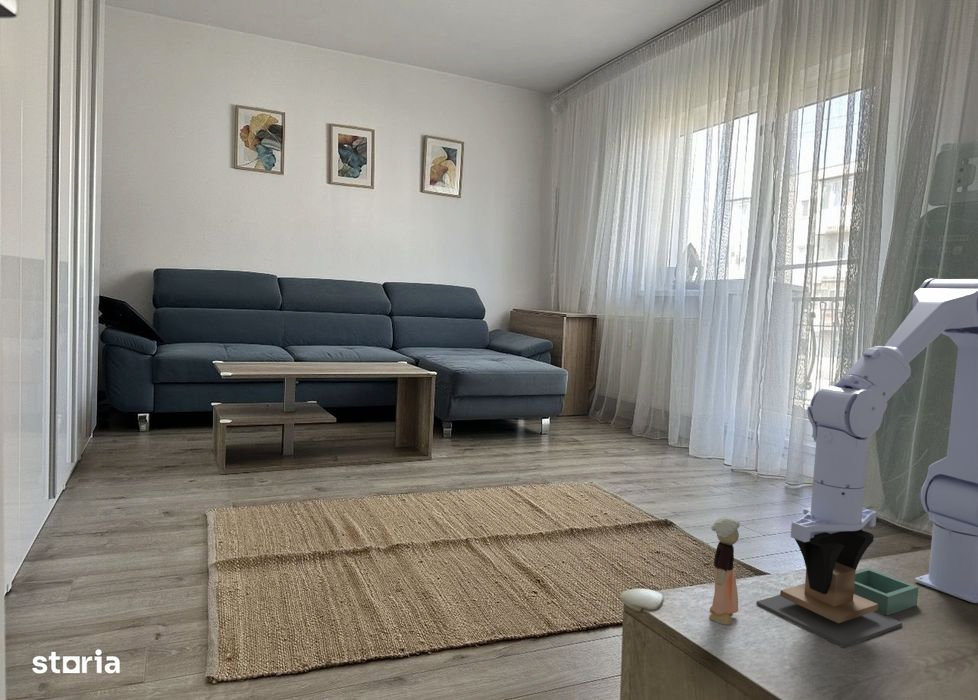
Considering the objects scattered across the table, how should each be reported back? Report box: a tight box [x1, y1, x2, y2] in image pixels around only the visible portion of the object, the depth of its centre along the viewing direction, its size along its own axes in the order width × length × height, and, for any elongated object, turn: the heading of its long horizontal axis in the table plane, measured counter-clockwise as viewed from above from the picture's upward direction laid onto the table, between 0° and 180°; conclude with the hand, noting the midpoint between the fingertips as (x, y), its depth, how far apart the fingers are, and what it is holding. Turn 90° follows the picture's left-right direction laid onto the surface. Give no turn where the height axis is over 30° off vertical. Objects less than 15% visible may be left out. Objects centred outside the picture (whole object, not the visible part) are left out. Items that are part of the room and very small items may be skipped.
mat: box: [755, 594, 903, 648], centre depth 86 cm, size 12×12×1 cm
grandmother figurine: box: [708, 515, 741, 626], centre depth 84 cm, size 8×4×13 cm, turn 168°
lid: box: [779, 562, 878, 623], centre depth 86 cm, size 8×8×5 cm
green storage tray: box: [854, 567, 919, 616], centre depth 91 cm, size 7×7×2 cm
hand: (829, 587), depth 86 cm, fingers closed on lid, 4 cm apart
